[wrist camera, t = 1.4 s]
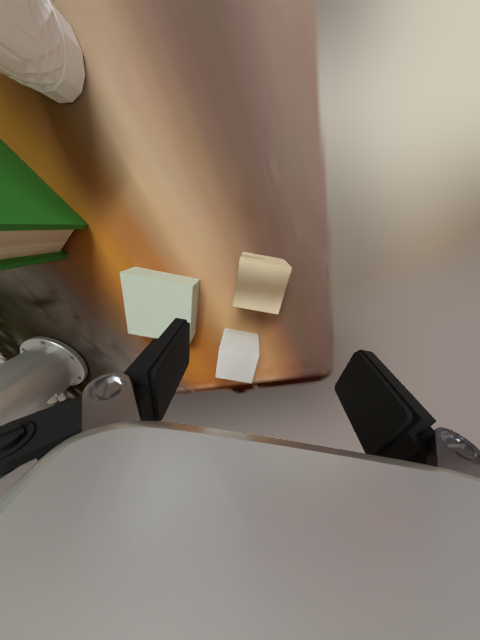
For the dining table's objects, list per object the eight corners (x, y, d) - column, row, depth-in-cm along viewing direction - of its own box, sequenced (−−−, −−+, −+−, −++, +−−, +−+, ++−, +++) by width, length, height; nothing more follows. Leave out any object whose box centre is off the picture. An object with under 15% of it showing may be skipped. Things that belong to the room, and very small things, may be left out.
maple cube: (273, 297, 28) (278, 314, 23) (236, 291, 28) (232, 306, 23) (283, 259, 26) (292, 267, 20) (242, 251, 25) (240, 258, 20)
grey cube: (251, 359, 34) (251, 383, 29) (221, 354, 34) (215, 377, 29) (258, 333, 32) (259, 354, 26) (224, 327, 32) (219, 348, 26)
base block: (196, 331, 33) (189, 344, 29) (141, 321, 32) (128, 333, 29) (200, 278, 28) (192, 286, 24) (136, 266, 28) (119, 272, 24)
